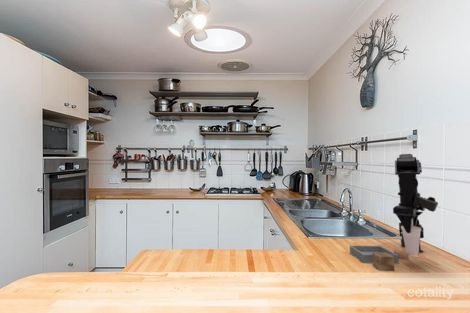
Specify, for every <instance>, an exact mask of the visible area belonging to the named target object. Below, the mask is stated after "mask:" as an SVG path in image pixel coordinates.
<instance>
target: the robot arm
mask: <svg viewBox="0 0 470 313" xmlns="http://www.w3.org/2000/svg"><path fill="white" fill-rule="evenodd" d="M422 168H423V167H422V163H421V162H420V159H417V157H416V156H413V154H411V153H401V154H399V155H398V157H396V160H394V174H395V175H396V176H397V177H398V189H399V192H397V195H398V196H399V203H398V205H395V206H394V207H393V208H392V213H393V214H395V216H397V218H398V220H399V221H400V222H398V228H399V229H398V230H399V236H400V237H401V238H400V247H405V243H404V238H403V233H402V229H401V226H403V227H404V229H405V230H406V232H407V233H410V232H411V225H412V219H413V226H416V227H420V228H421V231H420V239H424V238H425V236H424V235H425V234H424V227H423V226H422V224H420V220H419V216H420V215H422V214H423V212H425V211H426V210H427V211H429V212H432V213H433V212H435V211H436V210H437V207H438V205H439V202H438V201H436V198H435V197H432V196H429V197H427V198H426V197H423V196H421V193H420V192H419V191H418V187H419V181H418V178H417V175H421V173H422V172H423V170H422ZM419 253H424V250H422V249H421V242H420V243H419Z"/></svg>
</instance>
